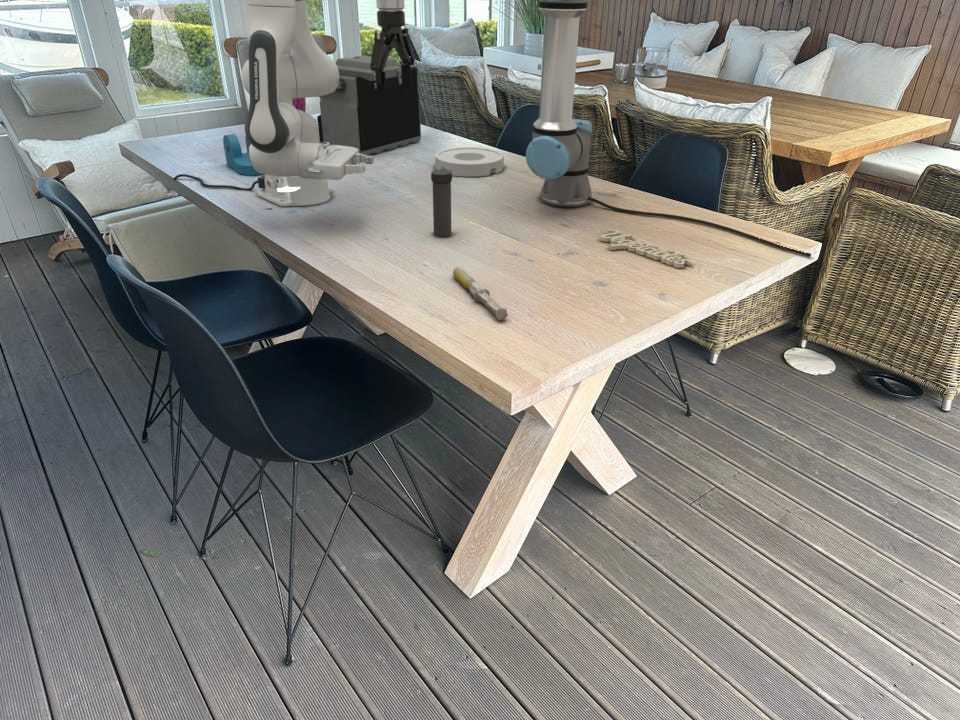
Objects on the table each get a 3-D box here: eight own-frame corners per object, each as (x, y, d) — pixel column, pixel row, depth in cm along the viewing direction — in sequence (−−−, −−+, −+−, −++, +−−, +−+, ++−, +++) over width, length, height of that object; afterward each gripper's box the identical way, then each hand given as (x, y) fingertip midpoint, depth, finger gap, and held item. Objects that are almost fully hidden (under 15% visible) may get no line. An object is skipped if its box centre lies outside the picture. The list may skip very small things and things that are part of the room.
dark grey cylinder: (447, 230, 180) (446, 170, 172) (454, 236, 176) (453, 175, 168) (431, 232, 178) (429, 172, 170) (437, 238, 175) (436, 177, 167)
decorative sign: (586, 237, 174) (611, 228, 179) (586, 240, 174) (611, 231, 180) (674, 268, 157) (698, 257, 162) (673, 272, 157) (698, 261, 163)
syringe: (449, 274, 155) (449, 263, 153) (465, 272, 156) (464, 260, 154) (490, 323, 135) (491, 310, 133) (508, 319, 136) (508, 307, 134)
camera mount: (227, 164, 233) (221, 132, 227) (257, 160, 238) (252, 129, 233) (244, 176, 220) (239, 143, 215) (276, 172, 225) (271, 139, 220)
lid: (447, 176, 173) (447, 168, 172) (455, 182, 169) (455, 173, 168) (428, 179, 171) (428, 170, 170) (435, 184, 167) (435, 175, 166)
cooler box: (383, 133, 276) (378, 52, 261) (425, 141, 265) (422, 56, 250) (314, 150, 251) (304, 61, 235) (358, 160, 240) (350, 67, 224)
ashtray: (438, 158, 243) (438, 146, 241) (503, 159, 243) (503, 147, 241) (432, 176, 223) (431, 163, 221) (503, 177, 223) (503, 165, 221)
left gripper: (301, 158, 163) (358, 161, 163) (325, 140, 181) (376, 143, 180) (303, 184, 166) (359, 187, 166) (326, 164, 184) (377, 167, 184)
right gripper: (402, 7, 197) (405, 85, 208) (352, 12, 178) (359, 98, 188) (425, 8, 194) (427, 87, 205) (377, 13, 175) (382, 101, 186)
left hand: (368, 164), depth 173 cm, fingers open, 8 cm apart
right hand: (394, 93), depth 197 cm, fingers open, 13 cm apart
